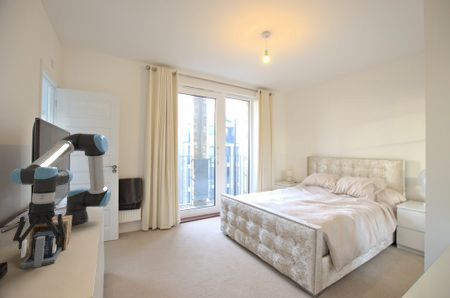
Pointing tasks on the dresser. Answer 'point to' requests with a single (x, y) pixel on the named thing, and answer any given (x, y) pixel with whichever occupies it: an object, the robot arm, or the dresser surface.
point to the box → (48, 244)
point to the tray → (40, 255)
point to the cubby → (44, 228)
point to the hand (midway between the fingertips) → (39, 253)
